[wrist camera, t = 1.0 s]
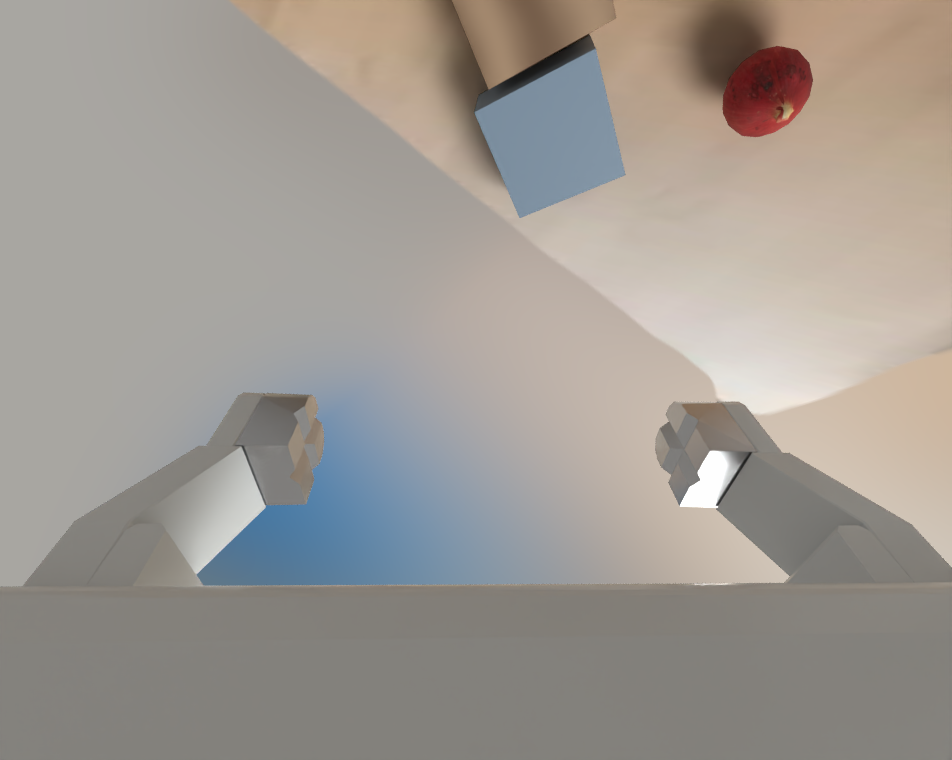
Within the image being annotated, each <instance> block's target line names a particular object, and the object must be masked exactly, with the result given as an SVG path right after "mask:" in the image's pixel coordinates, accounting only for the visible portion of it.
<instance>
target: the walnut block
mask: <svg viewBox="0 0 952 760" xmlns="http://www.w3.org/2000/svg"><path fill="white" fill-rule="evenodd" d="M452 2H453V5H454V7H455V9H456V12H457V14H458V17H459V19H460V21H461V24H462V26H463V29H464V31H465V34H466V36H467V38H468V41H469V43H470V46H471V48H472V51H473V53H474V55H475V58H476V60H477V63H478V65H479V67H480V70H481V72H482V75H483V77H484V80H485V82H486V84H487V87H488V89H491V88H493V87H494V86H496V85H498V84H500V83H501V82H503V81H505V80H507V79H509V78H510V77H512V76H514V75H516V74H517V73H519V72H521V71H523V70H525V69H526V68H528V67H530V66H532V65H534V64H535V63H537V62H539V61H541V60H542V59H544V58H546V57H548V56H550V55H551V54H553V53H555V52H557V51H558V50H560V49H562V48H564V47H566V46H567V45H569V44H571V43H573V42H575V41H576V40H578V39H580V38H582V37H583V36H585V35H587V34H589V33H591V32H592V31H594V30H596V29H598V28H599V27H601V26H603V25H605V24H607V23H608V22H610V21H612V20H614V19H616V13H615V9H614V4H613V0H452Z"/></svg>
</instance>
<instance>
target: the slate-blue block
mask: <svg viewBox="0 0 952 760" xmlns="http://www.w3.org/2000/svg"><path fill="white" fill-rule="evenodd" d="M474 113H475V116H476V118H477V120H478V123H479V125H480V127H481V129H482V132H483V134H484V136H485V139H486V141H487V143H488V146H489V148H490V150H491V153H492V155H493V157H494V160H495V162H496V164H497V167H498V169H499V171H500V173H501V176H502V178H503V180H504V183H505V185H506V187H507V190H508V192H509V194H510V197H511V199H512V201H513V204H514V206H515V208H516V211H517V213H518V215H519V217H520V218H521V217H524V216H526V215H529V214H531V213H533V212H536V211H538V210H541V209H543V208H546V207H548V206H551V205H553V204H556V203H558V202H560V201H563V200H565V199H568V198H570V197H573V196H575V195H578V194H580V193H583V192H585V191H587V190H590V189H592V188H595V187H597V186H600V185H602V184H605V183H607V182H610V181H612V180H615V179H617V178H619V177H622V176H624V175H625V171H624V167H623V163H622V158H621V154H620V150H619V146H618V141H617V137H616V133H615V129H614V124H613V120H612V116H611V112H610V107H609V103H608V99H607V95H606V90H605V86H604V82H603V78H602V73H601V69H600V65H599V61H598V56H597V52H596V48H595V46H594V44H593V41H592V39H591V37H590V35H589V36H587V37H585V38H583V39H581V40H580V41H578V42H576V43H574V44H572V45H570V46H569V47H567V48H565V49H563V50H561V51H559V52H557V53H556V54H554V55H552V56H550V57H548V58H546V59H545V60H543V61H541V62H539V63H537V64H535V65H533V66H532V67H530V68H528V69H526V70H524V71H522V72H520V73H519V74H517V75H515V76H513V77H511V78H509V79H508V80H506V81H504V82H502V83H500V84H498V85H496V86H495V87H493V88H491V89H489V90H487V91H485V92H484V93H482V94H480V95H479V96H478V100H477V104H476V108H475V111H474Z"/></svg>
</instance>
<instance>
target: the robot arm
mask: <svg viewBox="0 0 952 760" xmlns="http://www.w3.org/2000/svg"><path fill="white" fill-rule="evenodd" d="M317 411H318V405H317V402H316V398H315V397H314V396H313V395H299V394H276V393H266V394H264V393H242V394H240V395H238V397H237V398H236V400H235V401H234V403H233V404H232V406H231V408H230V409H229V411H228V412H227V414H226V415H225V417H224V419H223V420H222V422H221V423H220V425H219V426H218V428H217V430H216V431H215V433H214V434H213V436H212V438H211V439H210V441H209V442H208V444H207V446H198V447H196V448H195V449H193V450H191V451H190V452H188V453H187V454H185V455H183V456H181V457H180V458H178V459H176V460H175V461H173V462H171V463H170V464H168V465H166V466H165V467H163V468H162V469H160V470H158V471H157V472H155V473H153V474H152V475H150V476H149V477H147V478H145V479H144V480H142V481H140V482H138V483H137V484H135V485H134V486H132V487H130V488H129V489H127V490H125V491H124V492H122V493H120V494H119V495H117V496H115V497H114V498H112V499H111V500H109V501H107V502H105V503H104V504H102V505H101V506H99V507H97V508H96V509H94V510H92V511H91V512H89V513H87V514H86V515H84V516H82V517H81V518H79V519H77V520H76V521H74V523H73V524H72V525H71V527H70V528H69V529H68V530H67V531H66V533H65V534H64V535H63V536H62V538H61V539H60V540H59V541H58V543H57V544H56V545H55V547H54V548H53V549H52V550H51V551H50V553H49V554H48V555H47V556H46V558H45V559H44V560H43V561H42V563H41V564H40V565H39V566H38V568H37V569H36V570H35V571H34V573H33V574H32V575H31V576H30V578H29V579H28V580H27V581H26V583H25V584H24V585H23V586H22V587H0V760H952V567H951V566H950V565H949V564H948V563H947V562H946V561H945V560H944V559H943V558H942V557H941V556H940V555H939V554H938V553H937V551H936V550H935V549H934V548H933V547H932V546H931V545H930V544H929V543H928V542H927V541H926V539H924V537H922V535H921V534H920V533H919V532H918V531H917V530H916V529H915V528H914V527H913V525H912V524H910V523H908V522H906V521H905V520H903V519H901V518H900V517H898V516H896V515H895V514H893V513H891V512H889V511H888V510H886V509H884V508H883V507H881V506H879V505H877V504H876V503H874V502H872V501H871V500H869V499H867V498H865V497H864V496H862V495H860V494H858V493H857V492H855V491H853V490H852V489H850V488H848V487H847V486H845V485H843V484H841V483H840V482H838V481H836V480H835V479H833V478H831V477H829V476H828V475H826V474H824V473H823V472H821V471H819V470H817V469H816V468H814V467H812V466H810V465H809V464H807V463H805V462H804V461H802V460H800V459H799V458H797V457H795V456H793V455H792V454H790V453H782V452H781V450H780V449H779V448H778V447H777V445H776V444H775V443H774V442H773V440H772V439H771V438H770V436H769V435H768V434H767V433H766V431H765V430H764V429H763V428H762V427H761V425H760V424H759V422H758V421H757V420H756V419H755V418H754V416H753V415H752V414H751V412H750V411H749V410H748V409H747V407H746V406H745V405H744V404H742V403H740V402H673V403H672V404H671V405H670V406H669V409H668V411H667V413H666V416H667V418H668V420H669V422H668V423H667V424H665V425H664V426H662V427H661V428H660V429H659V432H658V434H657V437H656V448H655V450H656V454H657V459H658V461H659V463H660V466H661V467H662V468H663V469H664V470H666V471H667V472H668V473H669V474H671V477H670V480H669V485H670V487H671V489H672V491H673V493H674V495H675V497H676V499H677V501H678V504H679V506H688V507H717V508H716V509H717V510H718V511H719V512H720V513H721V514H722V515H723V516H724V517H725V518H726V519H727V520H729V521H730V522H731V523H732V524H733V525H734V526H735V527H736V528H737V529H738V530H740V531H741V532H742V533H743V534H744V535H745V536H746V537H747V538H748V539H749V540H751V541H752V542H753V543H754V544H755V545H756V546H757V547H758V548H759V549H760V550H762V551H763V552H764V553H765V554H766V555H767V556H768V557H769V558H770V559H771V560H773V561H774V562H775V563H776V564H777V565H778V566H779V567H780V568H782V569H783V570H784V571H785V572H786V573H787V574H788V575H789V576H790V577H789V578H788V579H787V580H786V581H785V582H784V583H701V584H698V583H695V584H694V583H693V584H692V583H690V584H517V585H516V584H510V585H509V584H506V585H504V584H503V585H502V584H496V585H301V586H300V585H284V586H283V585H277V586H276V585H275V586H273V585H271V586H204V585H203V584H202V582H201V581H200V580H199V578H198V577H197V575H196V574H197V573H198V572H199V571H200V570H201V569H202V568H203V567H205V566H206V565H207V564H208V563H209V562H210V561H211V560H212V559H213V558H214V557H215V556H216V555H217V554H218V553H219V552H220V551H221V550H222V549H223V548H224V547H225V546H226V545H227V544H228V543H229V542H230V541H231V540H232V539H233V538H234V537H236V536H237V535H238V534H239V533H240V532H241V531H242V530H243V529H244V528H245V527H246V526H247V525H248V524H249V523H250V522H251V521H252V520H253V519H254V518H255V517H256V516H257V515H258V514H259V513H260V512H261V511H262V510H263V509H264V508H265V507H266V506H265V505H293V504H306V503H307V500H308V497H309V494H310V491H311V488H312V485H313V482H314V477H313V473H312V469H313V468H315V467H316V466H317V465H318V464H320V460H321V457H322V454H323V446H324V431H323V427H322V423H321V422H320V421H318V420H317V419H316V418H315V417H316V414H317Z"/></svg>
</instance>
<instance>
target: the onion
mask: <svg viewBox="0 0 952 760" xmlns="http://www.w3.org/2000/svg"><path fill="white" fill-rule="evenodd" d="M812 82H813V78H812V73H811V69H810V64H809V62H808V61H807V60H806V59H805V58H804V57H803V56H802V54H801V53H800V52H799V51H798V50H795V49H790V48H786V47H780V46H776V47H771V48H767V49H762V50H759V51H758V52H756V53H755V54H753V55H752V56H750V57H749V58H747V59H746V60H744V61H743V62H742V63H741V64H740V65H739V67H738V68H737V69H736V71H735V72H734V73H733V74H732V76H731V77H730V78H729V81H728V83H727V86H726V89H725V92H724V94H723V114H724V116H725V119H726V121H727V123H728V125H729V126H730V127H731V128H732V129H734V130H735V131H736V132H738V133H739V134H740V135H742V136H750V137H760V136H764V135H767V134H770V133H774V132H776V131H777V130H779V129H781V128H782V127H784V126H786V125H787V124H789V123H790V122H791V121H792V120H793V119H794V118H795V116H796V115H797V114H798V113H799V112H800V111H801V109H802V108H803V106H804V104H805V103H806V101H807V100H808V98H809V96H810V91H811V87H812Z"/></svg>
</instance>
